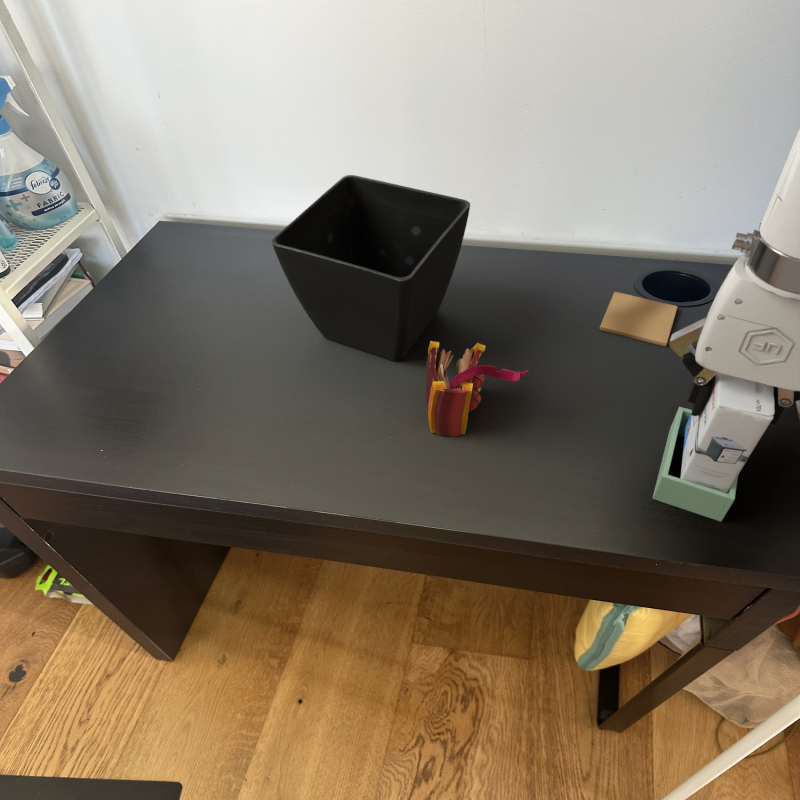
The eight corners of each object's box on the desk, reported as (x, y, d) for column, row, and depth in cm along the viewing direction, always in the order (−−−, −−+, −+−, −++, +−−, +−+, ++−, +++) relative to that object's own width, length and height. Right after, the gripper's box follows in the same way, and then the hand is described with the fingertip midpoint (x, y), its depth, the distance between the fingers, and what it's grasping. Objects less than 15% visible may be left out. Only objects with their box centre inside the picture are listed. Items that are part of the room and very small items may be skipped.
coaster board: (676, 309, 90) (677, 306, 90) (665, 346, 85) (666, 343, 84) (613, 294, 93) (614, 291, 93) (599, 329, 88) (600, 326, 87)
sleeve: (732, 448, 72) (745, 425, 69) (721, 522, 65) (734, 499, 62) (669, 429, 74) (679, 406, 72) (652, 498, 68) (662, 476, 65)
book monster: (427, 380, 81) (519, 398, 79) (411, 432, 75) (510, 453, 74) (431, 317, 73) (533, 335, 72) (414, 370, 67) (525, 391, 66)
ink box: (684, 425, 71) (717, 346, 62) (732, 436, 69) (773, 357, 61) (679, 483, 65) (714, 405, 57) (731, 496, 64) (775, 418, 55)
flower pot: (410, 387, 81) (407, 278, 69) (289, 346, 87) (266, 240, 75) (467, 305, 92) (473, 200, 80) (356, 275, 99) (346, 173, 87)
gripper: (681, 260, 50) (632, 415, 63) (933, 310, 45) (823, 469, 57) (695, 217, 55) (646, 369, 68) (924, 257, 49) (824, 415, 62)
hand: (728, 414), depth 63 cm, fingers closed on ink box, 5 cm apart
